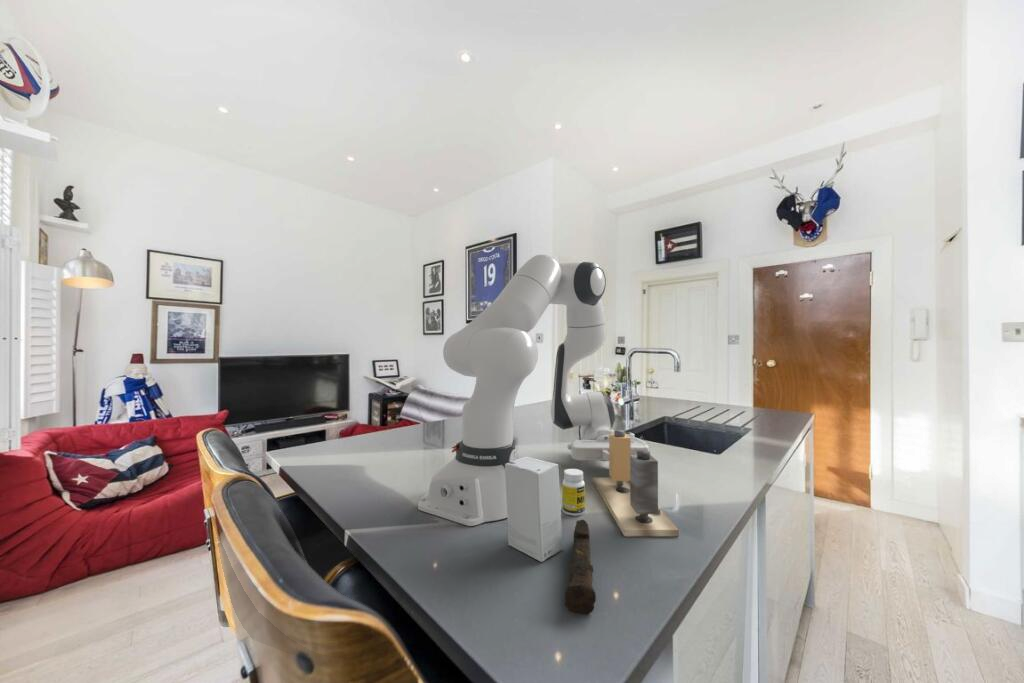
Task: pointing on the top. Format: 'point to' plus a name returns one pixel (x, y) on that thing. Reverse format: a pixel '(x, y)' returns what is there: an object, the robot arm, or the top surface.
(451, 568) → the top surface
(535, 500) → the skincare box
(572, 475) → the supplement bottle
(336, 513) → the top surface
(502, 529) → the top surface
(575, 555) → the hand tool
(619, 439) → the block
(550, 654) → the top surface
